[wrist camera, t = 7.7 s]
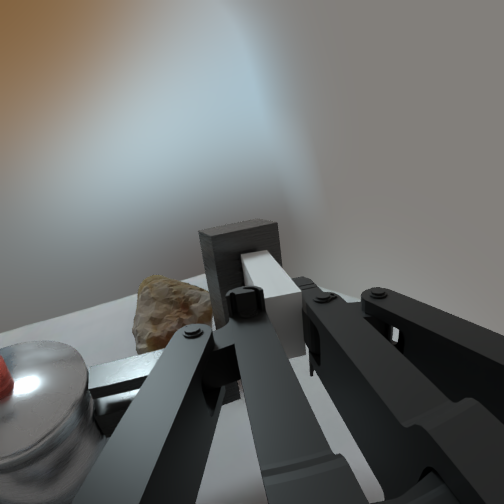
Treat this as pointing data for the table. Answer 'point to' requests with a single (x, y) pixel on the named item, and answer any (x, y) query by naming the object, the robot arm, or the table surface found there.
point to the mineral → (167, 311)
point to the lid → (109, 374)
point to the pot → (74, 454)
